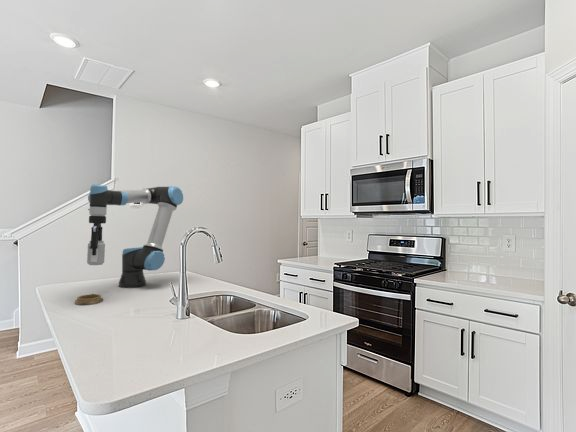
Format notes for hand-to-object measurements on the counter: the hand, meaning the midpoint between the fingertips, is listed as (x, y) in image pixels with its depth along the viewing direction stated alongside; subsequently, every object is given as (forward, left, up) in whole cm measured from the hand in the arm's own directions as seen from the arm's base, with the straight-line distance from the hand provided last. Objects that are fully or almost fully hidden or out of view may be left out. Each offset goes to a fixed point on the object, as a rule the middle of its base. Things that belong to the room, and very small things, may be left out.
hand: (95, 260), depth 169 cm
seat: (+2, +2, -20) cm, 20 cm away
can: (0, 0, -2) cm, 2 cm away
